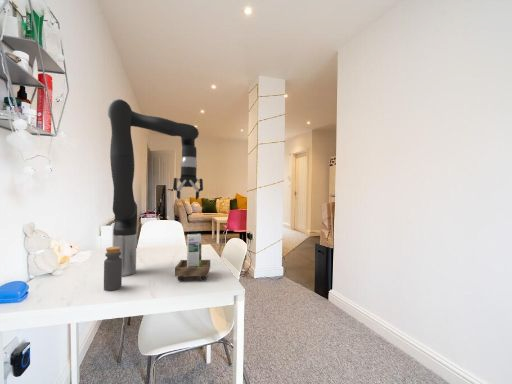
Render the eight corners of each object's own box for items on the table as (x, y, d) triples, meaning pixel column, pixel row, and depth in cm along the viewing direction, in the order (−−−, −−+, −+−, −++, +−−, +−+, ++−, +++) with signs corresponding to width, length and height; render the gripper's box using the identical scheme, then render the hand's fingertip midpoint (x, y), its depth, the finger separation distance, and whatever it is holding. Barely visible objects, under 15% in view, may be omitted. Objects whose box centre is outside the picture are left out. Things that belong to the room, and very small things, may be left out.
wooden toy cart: (174, 282, 103) (174, 268, 103) (181, 272, 116) (181, 259, 116) (207, 281, 105) (207, 267, 105) (210, 272, 118) (210, 259, 118)
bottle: (117, 284, 101) (118, 245, 101) (124, 287, 97) (124, 247, 97) (101, 288, 96) (101, 248, 96) (107, 292, 92) (108, 250, 92)
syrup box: (187, 270, 107) (187, 235, 107) (186, 266, 113) (187, 233, 113) (201, 269, 109) (201, 235, 109) (200, 265, 114) (200, 233, 114)
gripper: (172, 165, 124) (171, 199, 124) (202, 166, 126) (201, 199, 125) (175, 167, 132) (175, 198, 132) (204, 167, 133) (203, 199, 133)
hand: (187, 199), depth 129 cm, fingers open, 8 cm apart
